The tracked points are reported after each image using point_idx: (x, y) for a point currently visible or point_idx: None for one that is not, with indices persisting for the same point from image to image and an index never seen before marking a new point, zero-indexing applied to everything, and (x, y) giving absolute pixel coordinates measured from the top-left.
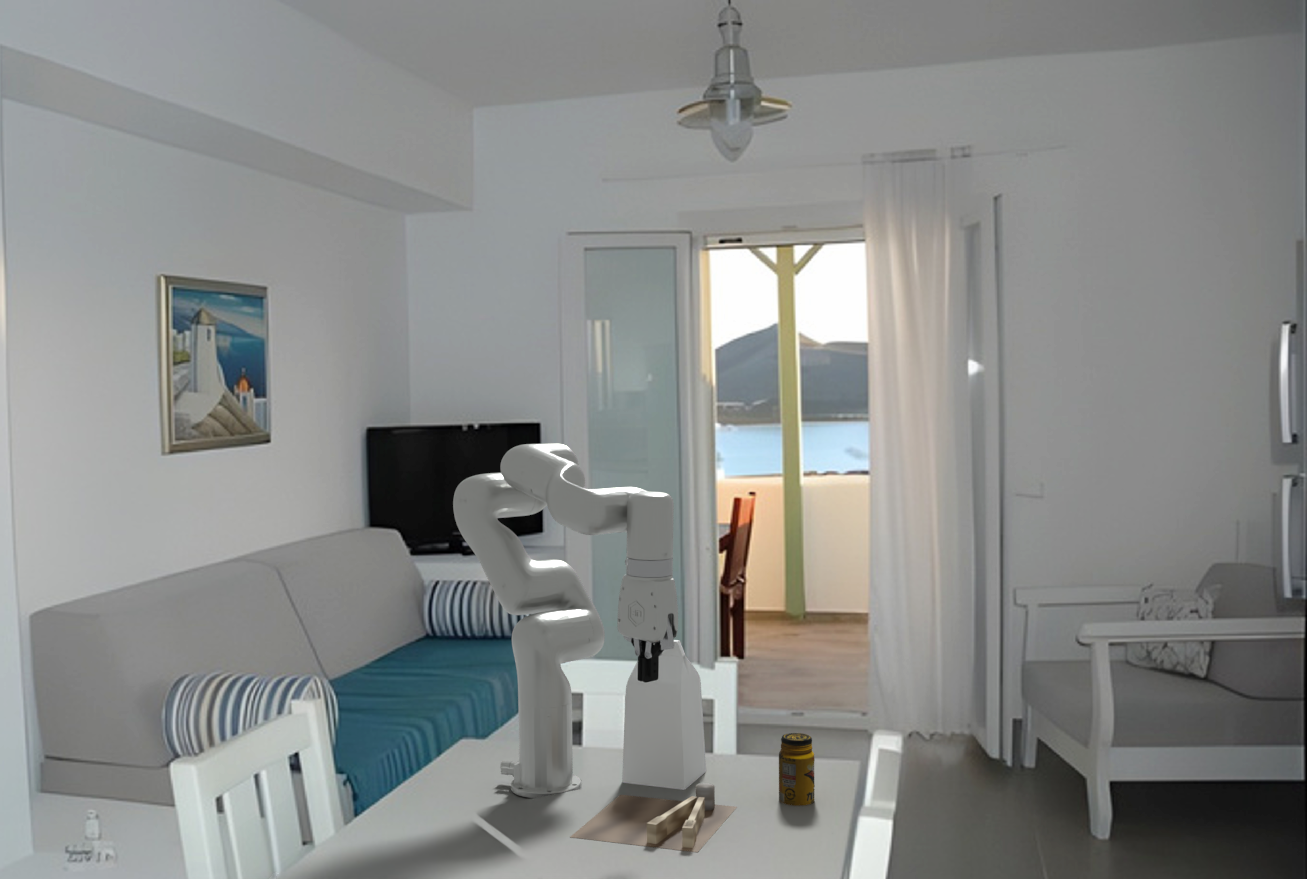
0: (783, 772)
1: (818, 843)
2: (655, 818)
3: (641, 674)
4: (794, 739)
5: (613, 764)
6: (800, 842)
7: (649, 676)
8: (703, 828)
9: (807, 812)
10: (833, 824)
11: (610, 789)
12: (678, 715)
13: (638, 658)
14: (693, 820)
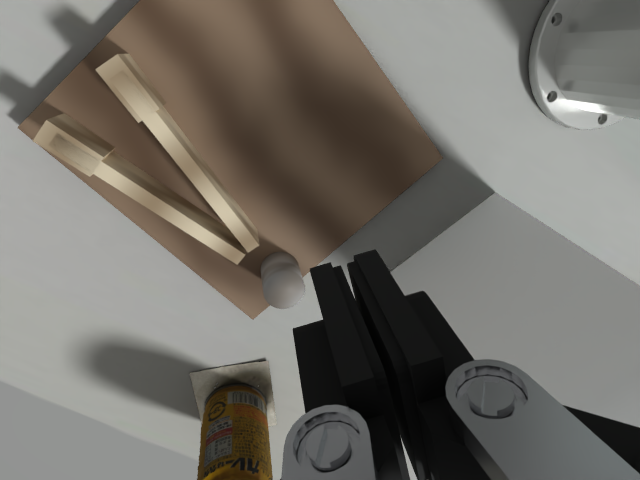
0: (228, 437)
1: (33, 362)
2: (144, 94)
3: (357, 285)
4: None
5: (609, 238)
6: (50, 339)
7: (319, 322)
8: None
9: (196, 407)
10: (120, 417)
11: (504, 168)
12: None
13: (427, 348)
14: (91, 171)
